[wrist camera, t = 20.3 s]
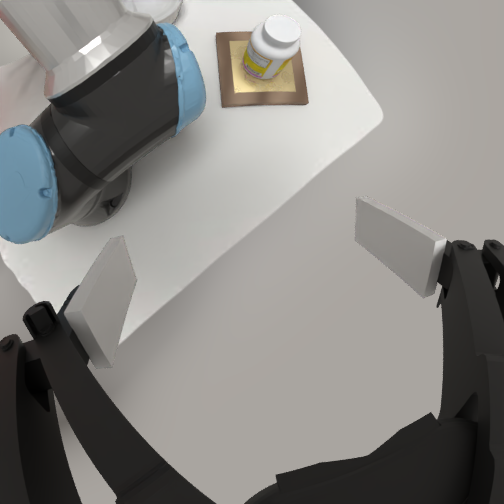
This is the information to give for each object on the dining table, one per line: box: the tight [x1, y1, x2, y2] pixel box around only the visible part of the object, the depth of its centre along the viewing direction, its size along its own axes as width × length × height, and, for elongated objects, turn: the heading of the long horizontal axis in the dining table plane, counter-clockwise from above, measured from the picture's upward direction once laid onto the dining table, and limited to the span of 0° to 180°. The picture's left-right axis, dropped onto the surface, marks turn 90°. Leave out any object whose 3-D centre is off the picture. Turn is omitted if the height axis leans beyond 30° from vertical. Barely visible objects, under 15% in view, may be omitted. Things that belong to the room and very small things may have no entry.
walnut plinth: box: [216, 32, 309, 108], centre depth 38 cm, size 14×14×2 cm
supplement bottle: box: [243, 14, 301, 79], centre depth 31 cm, size 7×7×13 cm
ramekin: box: [122, 0, 182, 24], centre depth 29 cm, size 11×11×5 cm
